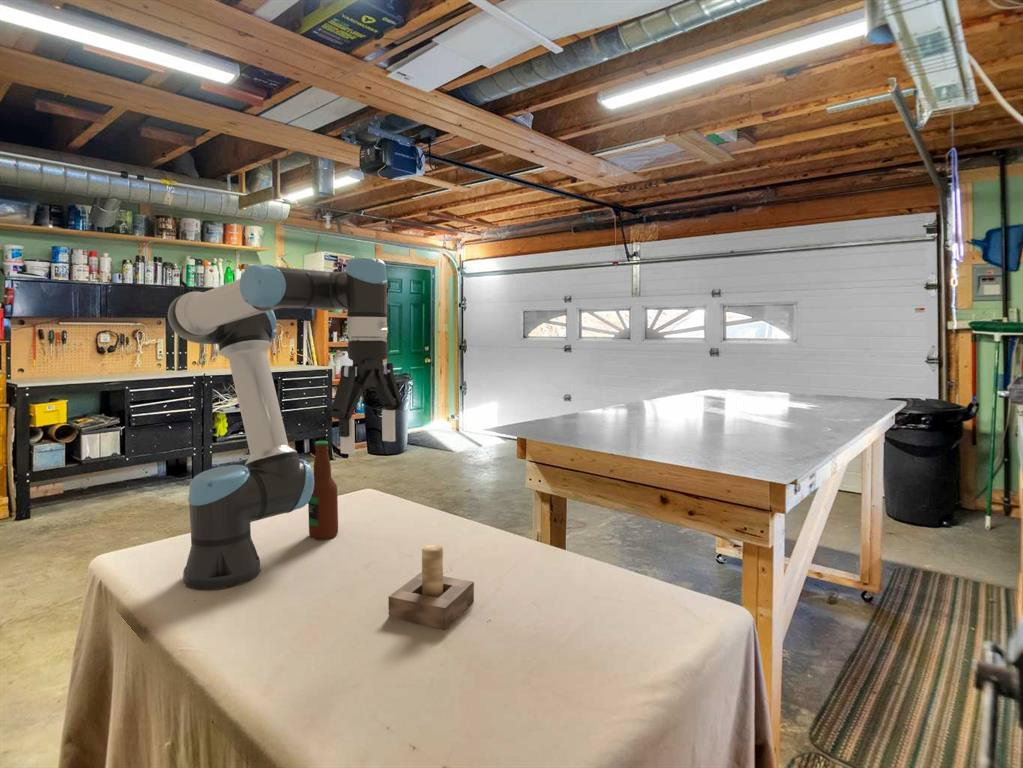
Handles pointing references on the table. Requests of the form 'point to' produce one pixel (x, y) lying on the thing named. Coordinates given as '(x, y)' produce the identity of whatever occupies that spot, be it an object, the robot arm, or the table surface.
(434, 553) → the oak peg
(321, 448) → the bottle
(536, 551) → the table surface
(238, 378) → the robot arm
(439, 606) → the walnut socket
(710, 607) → the table surface
